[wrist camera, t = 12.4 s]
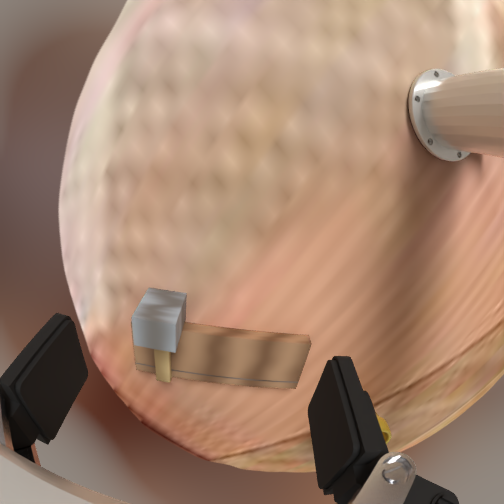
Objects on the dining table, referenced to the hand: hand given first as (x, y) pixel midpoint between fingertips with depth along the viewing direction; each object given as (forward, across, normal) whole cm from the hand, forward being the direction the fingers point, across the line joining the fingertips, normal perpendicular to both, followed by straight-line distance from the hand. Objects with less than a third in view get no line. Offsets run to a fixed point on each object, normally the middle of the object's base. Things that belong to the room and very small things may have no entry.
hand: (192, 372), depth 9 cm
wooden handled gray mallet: (+24, +8, +18) cm, 31 cm away
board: (+24, 0, +20) cm, 31 cm away
